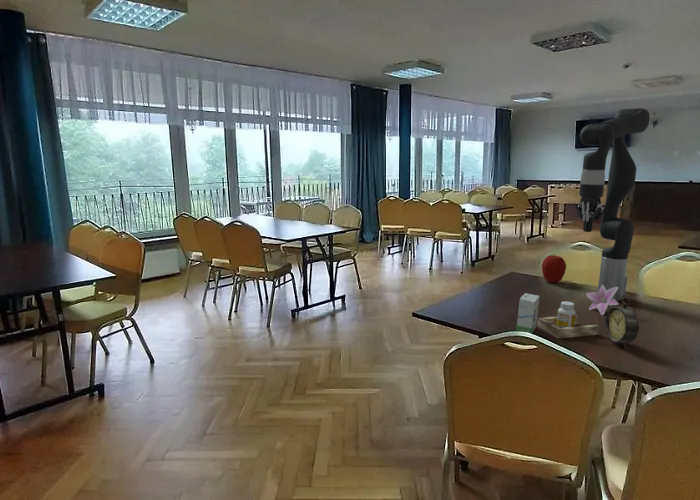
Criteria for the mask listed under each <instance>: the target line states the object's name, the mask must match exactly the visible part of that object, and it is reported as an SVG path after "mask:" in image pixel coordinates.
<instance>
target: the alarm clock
mask: <svg viewBox="0 0 700 500" xmlns="http://www.w3.org/2000/svg"><path fill="white" fill-rule="evenodd" d="M624 295H625V297H626V296H627V299H628V302H627V303H626V302H624V299H623V297H624ZM624 295H623V296H622V300H621V301H622V303H623V306H613V307H611V308H609V309H610V310H609V309H608V312H607V313H606V315H605V330H606V334H607V336H608V340H611V341H612V342H614V343H617V344H618V343H620V344H621V343H622V345H623V348H624V349H623V350H624V351H626V350H627V345H629V343H633V342H634V341H635V340H636V339H637V336H638V334H639V330H640V322H639V319H638V315H637V314H636V312H635V311H634V310H633V309H632V308H630V307H627V306H628V305H629V304H630V302H631V301H630V296H629V295H628V294H626V293H625V294H624Z"/></svg>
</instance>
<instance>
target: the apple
mask: <svg viewBox="0 0 700 500" xmlns="http://www.w3.org/2000/svg"><path fill="white" fill-rule="evenodd" d="M566 270H567V264H566V261H565V259H564V258H563V257H562V256H559V255H556V254H551V255H548V256H546V257H545V258H544V259H543V261H542V264H541V272H542V275H543V279H544V280H545V281H546V282H547V283H550V284H557V283H559V282H561V281H562V280H563V277H564V275H565V274H566Z"/></svg>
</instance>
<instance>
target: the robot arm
mask: <svg viewBox="0 0 700 500" xmlns="http://www.w3.org/2000/svg"><path fill="white" fill-rule="evenodd" d="M650 120H651V119H650V112H649V111H648V109H647V108H642V107H641V108H640V107H639V108H638V107H637V108H622V109H618V110H617V112H616V113H615V115H614V118H610V119H608V120H604V121H602V122H597V123H590V124H587V125H585V126H584V127H583V128H582V129H581V130H580V134H579V140H580V142H581V143H582V144H583V145H585V146H598V148H597V149H596V150H595V151H591V152H587V153H585V154H584V156H583V162H582V171H581V176H580V182H579V183H580V185H579V193H578V194H579V196H580V200H579V202H578V203H576V204H575V205H574V207H575V209H576V212H577V214H578V216H579V219H582V221H583V227H582V230H583V232H586V233H591V232H592V230H593V226H594V221H595V222H596V221H598V220H599V219H600V218H601V220H600V226H599V233H600V237H601V238H602V239H605V240H611V241H614V244H613V246H612V247H605V248H603V249H602V251H601V256H600V257H601V259H600V266H599V277H598V285H597V292H599V290H600V287H601V286H602V285H603V286H604V287H605V289H606V290H608V289H610V288H614V287H618V290H617V291H616V292H615V294H614V295H613V297H612V298H613V299H615V300H616V301H617V302H618V301H622V296H623V295H624V294H626V289H627V284H628V282H627V281H628V276H627V275H626V274H627V266H628V256H629V254H630V251H631V249H632V242H633V236H634V231H635V229H634V228H635V225H634V222H633V221H632V220H631V219H629V218H623V217H618V212H619V208H620V205H621V204H622V202H623V201H624V199H625V198H626V197H627V196H628V195H629V194H630V193H631V191H632V190H633V188H634V186H635V183H636V175H637V165H636V163H635V161H634V159H633V158H632V156H631V154H630V153H629V150H628V148H627V144H626V135H628V134H641V133H643V132H645V131H646V130H647V128H648V127H649V125H650ZM611 147H612V150H611V151H612V152H611V159H610V164H609V165H610V166H609V172H608V178H607V179H608V180H607V189H606V195H605V197H606V198H605V203H604V206H603V205H602V200H601V198H602V197H604V189H605V182H606V181H605V180H606V162H607V158H608V154H609V151H610V149H611ZM624 299H626V295H624V297H623V300H624Z"/></svg>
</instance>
